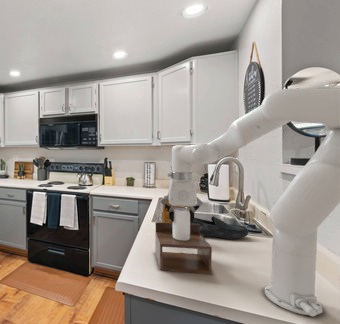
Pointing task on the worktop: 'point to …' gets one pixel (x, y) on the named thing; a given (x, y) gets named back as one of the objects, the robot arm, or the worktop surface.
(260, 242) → the worktop surface
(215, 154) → the robot arm
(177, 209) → the can
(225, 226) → the loafer
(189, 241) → the shelf
